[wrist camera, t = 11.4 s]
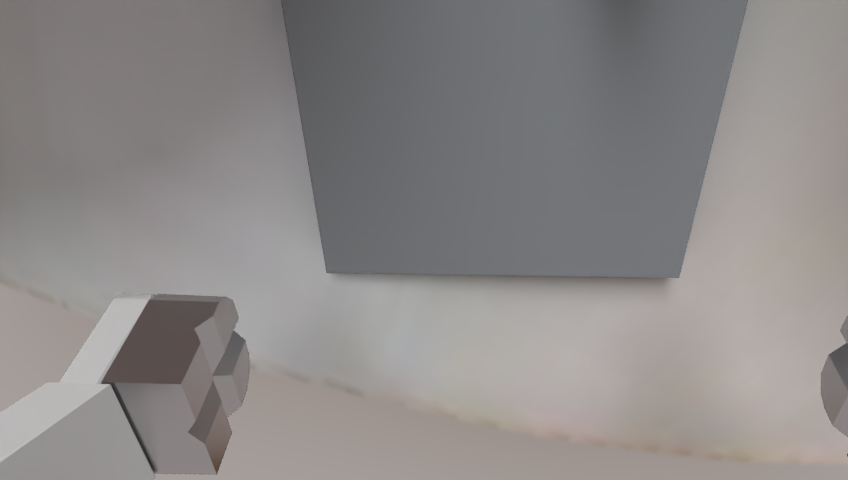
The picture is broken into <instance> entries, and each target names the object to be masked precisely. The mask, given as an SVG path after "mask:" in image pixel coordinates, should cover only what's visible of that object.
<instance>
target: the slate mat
mask: <svg viewBox="0 0 848 480" xmlns="http://www.w3.org/2000/svg"><path fill="white" fill-rule="evenodd" d="M281 2H282V8H283V14H284V20H285V26H286V32H287V38H288V44H289V50H290V56H291V62H292V68H293V74H294V80H295V86H296V92H297V98H298V104H299V110H300V116H301V122H302V128H303V134H304V140H305V146H306V152H307V158H308V164H309V170H310V176H311V182H312V188H313V194H314V200H315V206H316V212H317V218H318V224H319V230H320V236H321V242H322V248H323V254H324V260H325V266H326V272H327V273H371V274H441V275H512V276H583V277H654V278H679V276H680V272H681V268H682V264H683V260H684V256H685V252H686V247H687V243H688V239H689V235H690V231H691V227H692V223H693V219H694V215H695V211H696V207H697V203H698V199H699V195H700V191H701V187H702V183H703V179H704V175H705V171H706V167H707V163H708V159H709V155H710V151H711V147H712V143H713V139H714V135H715V131H716V127H717V123H718V119H719V115H720V111H721V106H722V102H723V98H724V94H725V90H726V86H727V82H728V78H729V74H730V70H731V66H732V62H733V58H734V54H735V50H736V46H737V42H738V38H739V34H740V30H741V26H742V22H743V18H744V14H745V10H746V6H747V2H748V0H281Z"/></svg>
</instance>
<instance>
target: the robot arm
mask: <svg viewBox="0 0 848 480" xmlns="http://www.w3.org/2000/svg"><path fill="white" fill-rule="evenodd" d="M238 318H239V317H238V314H237V311H236V308H235V305H234V302H233V300H232V299H230V298H227V297H219V296H196V295H172V294H157V295H152V294H132V293H123V294H121V295H119V296H118V297H116V298H114V299H113V300H112V302H111V303H110V305H109V306H108V308H107V309H106V311H105V312H104V314H103V315H102V317H101V319H100V320H99V322H98V323H97V325H96V326H95V328H94V329H93V331H92V332H91V334H90V335H89V337H88V338H87V340H86V341H85V343H84V345H83V346H82V348H81V349H80V351H79V352H78V354H77V355H76V357H75V358H74V360H73V361H72V363H71V364H70V366H69V368H68V369H67V370H66V372H65V374H64V375H63V377H62V378H61V380H60V381H59V382H47V383H46V384H44V385H43V386H41V387H40V388H38V389H36V390H35V391H33V392H32V393H30V394H29V395H27V396H25V397H24V398H22V399H21V400H19V401H18V402H16V403H14V404H13V405H11V406H10V407H8V408H7V409H5V410H4V411H2V412H0V480H153V479H154V478H155V475H154V474H215V475H217V472H218V470H219V467H220V464H221V461H222V459H223V456H224V453H225V450H226V447H227V445H228V442H229V439H230V437H231V434H232V431H231V428H230V425H229V422H228V419H227V417H229V416H230V415H231V414H232V413H233V412H235V411H236V410H237V409H238V408H239V407H241V406H242V403H243V400H244V397H245V394H246V391H247V387H248V379H249V372H250V363H249V352H248V349H247V345H246V341H245V340H244V339H243V338H242V337H241V336H239V335H238V334H237V333H236V332H235V331H233V330H234V328H235V325H236V323H237V320H238ZM840 332H841V333H842V335H843V337H844V339H845V341H846V344H844V345H843V346H841V347H840V348H838V349H837V350H835V351H834V352H832V353H831V354H829V355H828V357H827V360H826V362H825V365H824V367H823V370H822V372H821V396H822V400H823V404H824V408H825V411H826V413H827V415H828V417H829V419H830V421H831V423H832V425H833V426H834V427H835V428H837V429H838V430H839V431H841V432H842V433H843V434H844V435H846V436H847V437H848V316H847V317H846V319H845V321H844V323H843V325H842V328H841V330H840ZM847 456H848V454H847Z"/></svg>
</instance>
